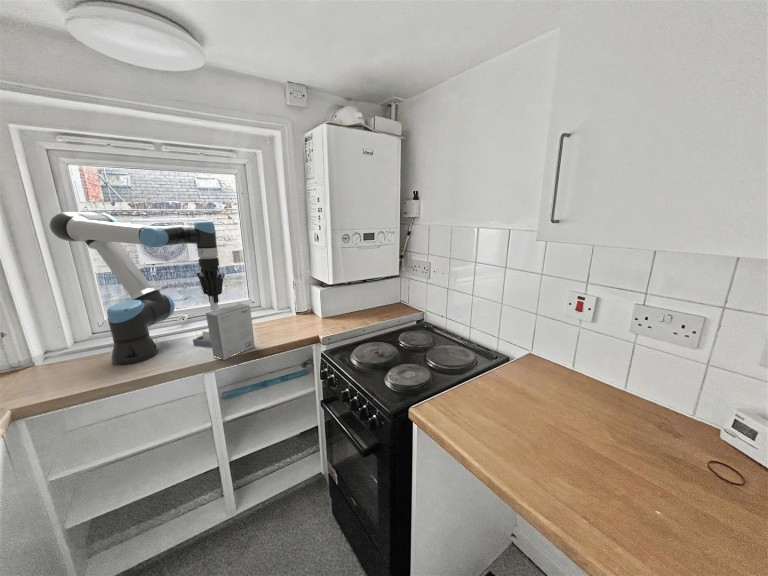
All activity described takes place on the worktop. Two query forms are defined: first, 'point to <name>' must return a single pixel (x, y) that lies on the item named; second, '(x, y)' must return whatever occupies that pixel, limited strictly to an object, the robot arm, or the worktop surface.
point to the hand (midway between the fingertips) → (214, 309)
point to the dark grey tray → (201, 342)
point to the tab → (206, 335)
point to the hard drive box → (230, 330)
